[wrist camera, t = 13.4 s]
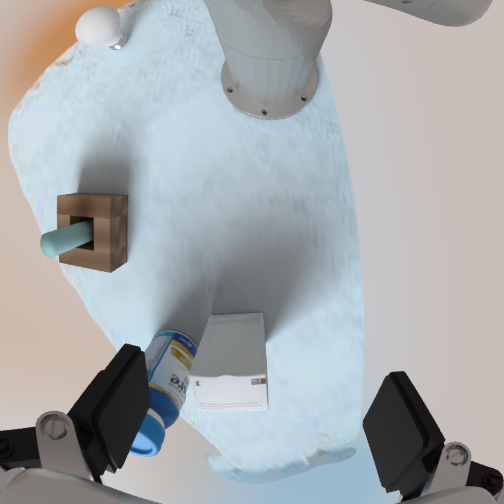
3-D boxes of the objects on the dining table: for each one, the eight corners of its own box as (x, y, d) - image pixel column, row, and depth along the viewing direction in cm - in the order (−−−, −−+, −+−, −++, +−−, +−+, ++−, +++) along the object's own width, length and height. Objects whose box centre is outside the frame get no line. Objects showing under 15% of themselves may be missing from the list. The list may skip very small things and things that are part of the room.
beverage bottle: (153, 321, 41) (92, 406, 21) (203, 336, 41) (167, 435, 21) (150, 361, 43) (103, 445, 23) (197, 374, 43) (166, 468, 24)
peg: (91, 216, 36) (39, 232, 25) (107, 217, 36) (55, 234, 25) (92, 235, 37) (41, 256, 26) (106, 237, 37) (57, 259, 26)
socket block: (76, 193, 36) (57, 195, 31) (128, 195, 36) (110, 198, 31) (77, 253, 38) (59, 262, 34) (126, 262, 38) (110, 272, 33)
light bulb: (105, 68, 31) (66, 45, 20) (102, 40, 29) (67, 15, 18) (141, 49, 30) (108, 18, 19) (136, 22, 28) (106, -10, 18)
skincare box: (214, 345, 41) (194, 413, 27) (209, 311, 40) (183, 375, 25) (268, 343, 41) (269, 414, 26) (266, 309, 39) (266, 375, 25)
